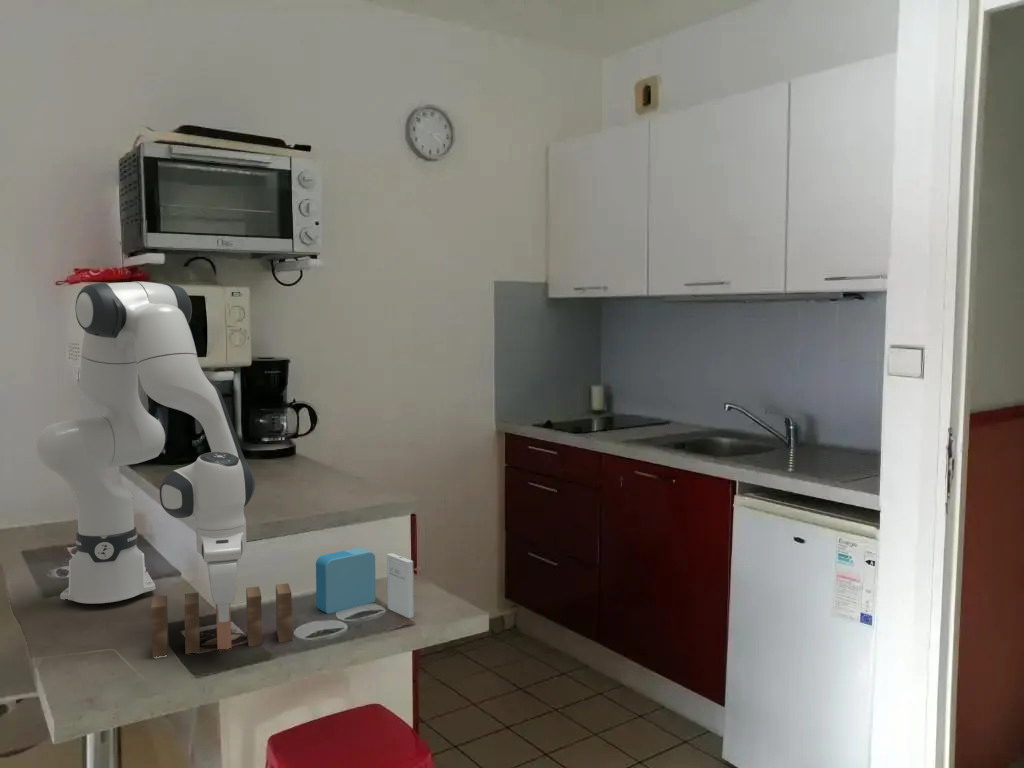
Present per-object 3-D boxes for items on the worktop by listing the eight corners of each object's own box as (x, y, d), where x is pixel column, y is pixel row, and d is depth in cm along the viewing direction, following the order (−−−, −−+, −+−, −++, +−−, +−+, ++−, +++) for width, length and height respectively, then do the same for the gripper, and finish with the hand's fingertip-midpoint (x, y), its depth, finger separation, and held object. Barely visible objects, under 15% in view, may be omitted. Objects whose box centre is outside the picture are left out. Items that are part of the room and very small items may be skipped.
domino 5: (279, 645, 158) (278, 593, 157) (276, 634, 163) (275, 584, 163) (292, 644, 159) (291, 592, 158) (289, 633, 164) (288, 583, 163)
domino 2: (185, 657, 152) (184, 603, 151) (186, 645, 158) (184, 593, 157) (199, 655, 153) (198, 602, 152) (199, 644, 158) (198, 592, 158)
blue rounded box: (365, 599, 184) (364, 546, 183) (376, 604, 181) (375, 550, 180) (316, 612, 176) (315, 556, 175) (326, 617, 173) (325, 560, 172)
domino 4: (248, 649, 156) (247, 597, 155) (247, 638, 161) (246, 587, 161) (262, 647, 157) (261, 595, 156) (260, 636, 162) (259, 586, 161)
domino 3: (217, 653, 154) (216, 600, 153) (217, 641, 159) (215, 590, 159) (231, 651, 155) (230, 599, 154) (230, 640, 160) (229, 589, 160)
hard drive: (393, 609, 178) (392, 552, 177) (415, 620, 171) (414, 560, 171) (386, 611, 176) (386, 554, 176) (408, 622, 170) (408, 562, 169)
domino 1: (152, 661, 150) (151, 607, 149) (154, 649, 156) (153, 597, 155) (167, 660, 151) (165, 605, 150) (168, 647, 156) (167, 595, 156)
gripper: (203, 528, 164) (205, 597, 165) (203, 555, 145) (205, 633, 146) (237, 525, 166) (238, 593, 167) (241, 552, 147) (243, 628, 148)
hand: (223, 612), depth 157 cm, fingers open, 8 cm apart
